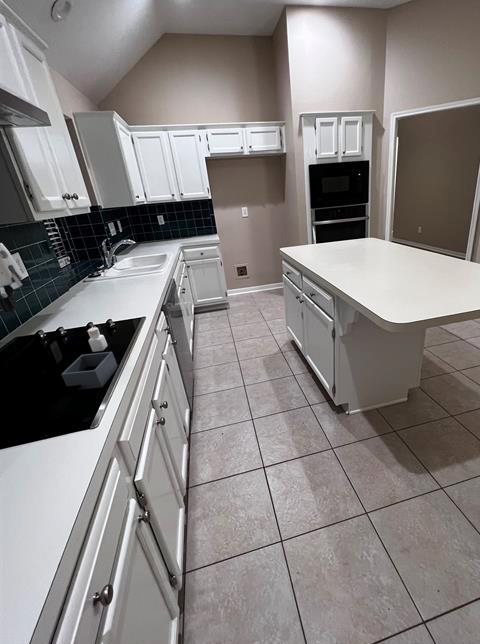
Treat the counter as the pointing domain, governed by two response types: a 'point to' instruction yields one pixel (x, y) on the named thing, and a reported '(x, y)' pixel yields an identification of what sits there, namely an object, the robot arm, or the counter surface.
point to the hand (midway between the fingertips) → (11, 310)
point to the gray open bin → (93, 377)
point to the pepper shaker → (96, 340)
